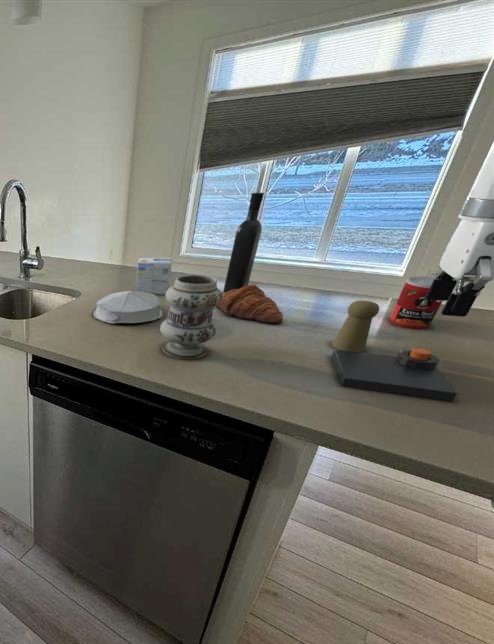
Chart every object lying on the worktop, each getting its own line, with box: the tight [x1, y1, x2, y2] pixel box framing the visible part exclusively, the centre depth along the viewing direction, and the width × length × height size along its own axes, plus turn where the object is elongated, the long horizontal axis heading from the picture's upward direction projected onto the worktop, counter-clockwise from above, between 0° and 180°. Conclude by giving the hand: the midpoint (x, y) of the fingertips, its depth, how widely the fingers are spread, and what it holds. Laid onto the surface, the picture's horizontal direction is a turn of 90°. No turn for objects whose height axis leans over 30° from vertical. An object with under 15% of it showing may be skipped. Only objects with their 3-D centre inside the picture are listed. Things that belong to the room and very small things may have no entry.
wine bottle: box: [222, 192, 265, 293], centre depth 123 cm, size 6×6×30 cm
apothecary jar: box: [159, 274, 222, 360], centre depth 96 cm, size 12×12×18 cm
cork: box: [331, 299, 380, 353], centre depth 92 cm, size 6×6×11 cm
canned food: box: [389, 276, 443, 330], centre depth 100 cm, size 8×8×11 cm
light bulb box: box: [134, 257, 173, 295], centre depth 137 cm, size 11×7×11 cm, turn 66°
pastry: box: [215, 284, 284, 325], centre depth 115 cm, size 17×15×8 cm
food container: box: [93, 290, 163, 324], centre depth 122 cm, size 20×20×7 cm
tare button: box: [409, 347, 432, 360], centre depth 82 cm, size 3×3×2 cm
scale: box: [331, 348, 458, 403], centre depth 82 cm, size 16×14×4 cm
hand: (444, 306), depth 77 cm, fingers open, 8 cm apart
